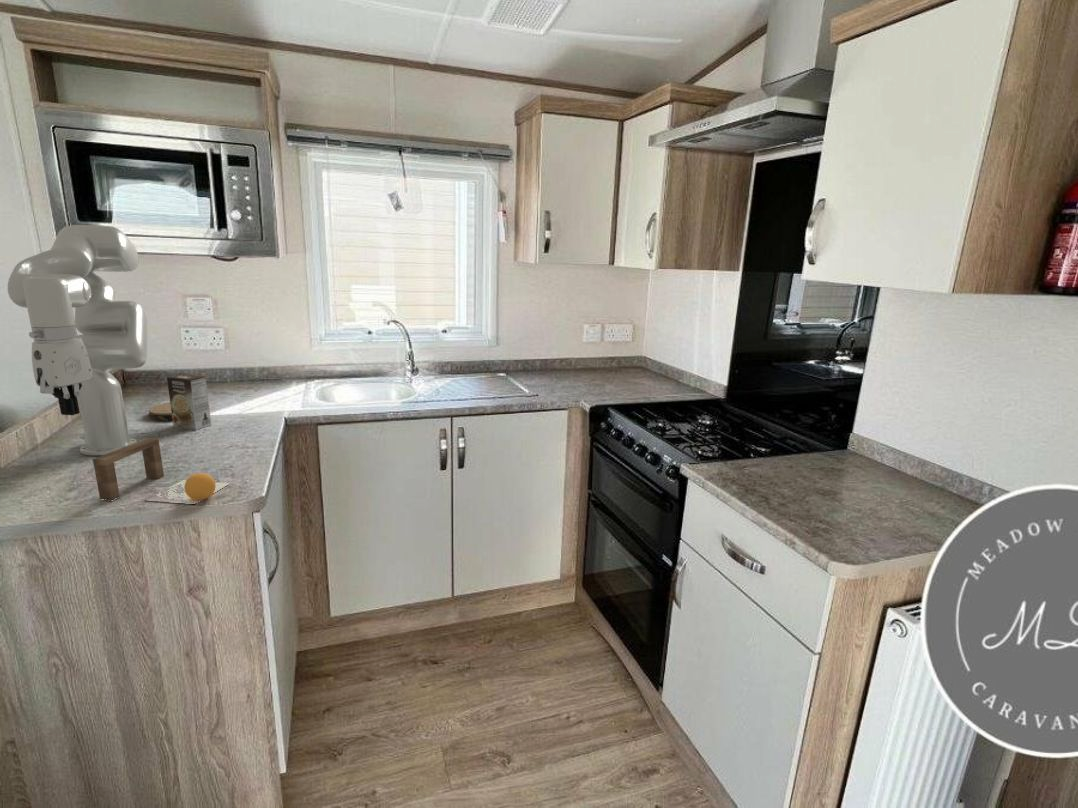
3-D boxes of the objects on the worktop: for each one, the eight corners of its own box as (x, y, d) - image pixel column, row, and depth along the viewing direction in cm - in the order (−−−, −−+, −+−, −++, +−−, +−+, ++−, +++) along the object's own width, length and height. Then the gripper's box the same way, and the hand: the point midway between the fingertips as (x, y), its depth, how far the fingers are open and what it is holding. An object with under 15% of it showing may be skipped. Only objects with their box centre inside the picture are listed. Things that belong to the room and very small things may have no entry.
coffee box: (172, 427, 178) (164, 376, 174) (189, 421, 184) (182, 372, 180) (196, 430, 175) (189, 379, 171) (212, 424, 181) (206, 375, 177)
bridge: (100, 500, 127) (92, 459, 124) (153, 475, 141) (147, 437, 138) (112, 501, 126) (105, 460, 124) (164, 476, 141) (158, 438, 138)
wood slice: (176, 424, 182) (175, 415, 181) (137, 419, 186) (136, 410, 185) (216, 411, 197) (215, 403, 196) (179, 407, 201) (178, 399, 200)
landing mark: (144, 501, 127) (144, 500, 127) (183, 480, 138) (183, 479, 138) (194, 505, 125) (194, 504, 125) (229, 484, 137) (229, 483, 137)
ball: (196, 509, 126) (174, 494, 127) (217, 497, 132) (196, 482, 132) (204, 490, 124) (181, 475, 124) (224, 478, 129) (203, 463, 130)
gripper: (37, 339, 118) (54, 424, 123) (99, 330, 133) (113, 406, 137) (5, 338, 119) (23, 422, 124) (71, 329, 134) (85, 404, 138)
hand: (70, 413), depth 131 cm, fingers closed
